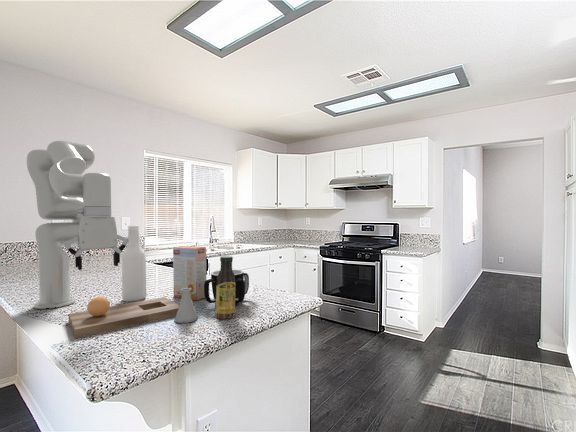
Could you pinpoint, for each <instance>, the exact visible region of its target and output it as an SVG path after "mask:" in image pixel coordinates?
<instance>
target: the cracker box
mask: <svg viewBox="0 0 576 432" xmlns="http://www.w3.org/2000/svg"><path fill="white" fill-rule="evenodd" d="M172 251H173V252H172V255H173V256H172V261H173V262H172V265H173V266H172V268H173V297H175V298H180V299H181V296H182V293H181V291H180V290H181V289H183V288H191V291H190V295H191V300H192V301H199V300H203V299H205V296H204V283H205V281H206V280H207V247H206V246H192V245H190V246H189V245H181V246H173V247H172Z"/></svg>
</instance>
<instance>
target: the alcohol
mask: <svg viewBox="0 0 576 432" xmlns="http://www.w3.org/2000/svg"><path fill="white" fill-rule="evenodd" d="M127 227H128V229H127V230H128V231H127V233H128V234H127V239H129V241H128V243H127V245H126V249H124V251H122V255H121V295H122V297H121V298H122V301H124V302H125V303H134V302H139V301H144V300H145V299H146V297H147V255H146V252H145V251H144V249H142V247H141V242H140V241H141V240H140V231H139V230H140V228H139V227H140V225H128V226H127Z"/></svg>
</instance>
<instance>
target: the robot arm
mask: <svg viewBox="0 0 576 432" xmlns="http://www.w3.org/2000/svg"><path fill="white" fill-rule="evenodd" d="M94 162H95V152H94V150H93V148H91V146H89V145H88V144H87V145H86V144H84V143H77V142H72V141H67V140H66V141H64V140H55V141H51V143H49V144H48V145H47V147H46V149H42V148H41V149H39V148H37V149H32V150H30V151H29V152H28V153H27V156H26V167H27V172H28V174H29V176H30V178H31V181H32V183H33V185H34V188H35V195H36V205H37V212H38V215H39V217H40V218H41V219H43V220H46V221H62V222H45V223H43V224H40V225H39V226H38V227H36V230H35V232H34V233H35V241H36V245H37V252H38V271H39V272H38V275H39V276H38V280H39V281H38V283H39V285H38V287H39V288H38V289H39V294H38V295H39V301H37V302H36V303H35V302H34V304H33V305H34V308H35V309H37V310H39V309H40V310H44V309H45V310H46V308H49V309H54V308H55V307H56V308H61V307H65V306H69V305H72V304H74V303H75V302H76V298H75V297H71V258H70V256H69V254H68V253H67V252H66V251H65V250H64V249H63V248H66V250H67V251H68V252H69V253H70V254H71V255H73V256H74V257H75V258H74V259H75V260H74V261H75V263H74V264H75V268H77V270H79V271H82V270H83V257H82V254H83V253H84V251H88V250H89V251H91V250H92V251H95V250H108V249H112V251H114V253H113V260H112V261H113V266H115V267H118V266H119V264H120V261H121V257H120V256H121V253H122V252H123V250H125V248H127V244H128V241H129V239H128V237H124V236H121V235H119V234H118V230H117V222H116V218H115V217H114V216H112V181H111V176H110V175H109V174H107V173H101V172H87V173H85V171H86V170H87V169H89V168H90V167H91V166H92V165H93V164H94ZM63 221H67V222H63ZM69 221H72V222H69ZM118 240H119V241H122V243H121V245H119V247H118ZM76 246H78V248H77V250H75V249H74V248H73V247H76ZM56 308H55V309H56Z"/></svg>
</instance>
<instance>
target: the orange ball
mask: <svg viewBox="0 0 576 432" xmlns="http://www.w3.org/2000/svg"><path fill="white" fill-rule="evenodd" d="M109 307H111V304H110V301H109V299H108V298H107V297H105V296H96V297H93V298H92V299H91V300H89V302H88V303H87V307H86V311H88V312H89V314H91V315H92V316H102V315H104V314H105V313H106V312H107V311H108V310H109Z"/></svg>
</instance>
